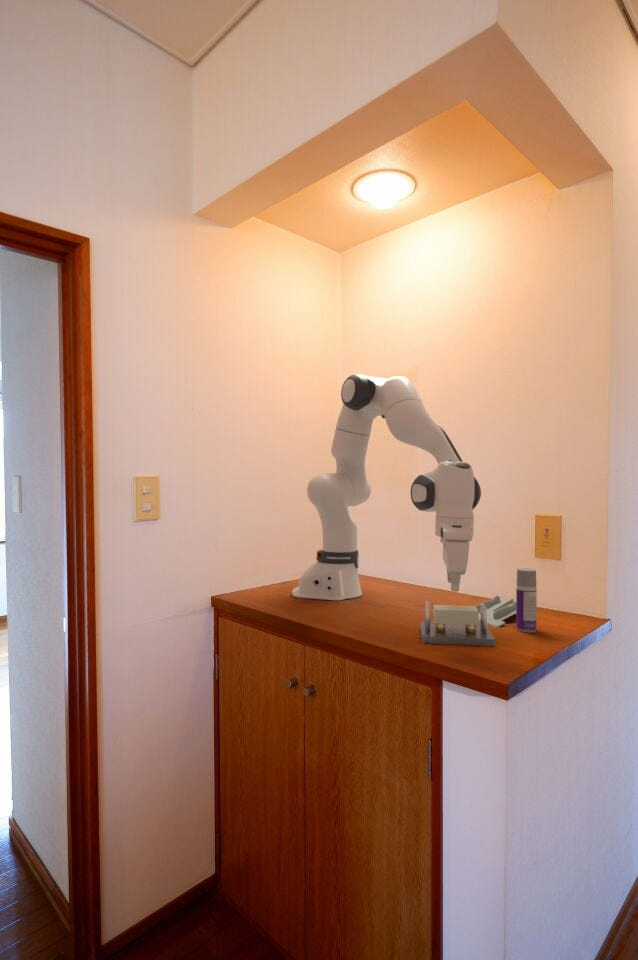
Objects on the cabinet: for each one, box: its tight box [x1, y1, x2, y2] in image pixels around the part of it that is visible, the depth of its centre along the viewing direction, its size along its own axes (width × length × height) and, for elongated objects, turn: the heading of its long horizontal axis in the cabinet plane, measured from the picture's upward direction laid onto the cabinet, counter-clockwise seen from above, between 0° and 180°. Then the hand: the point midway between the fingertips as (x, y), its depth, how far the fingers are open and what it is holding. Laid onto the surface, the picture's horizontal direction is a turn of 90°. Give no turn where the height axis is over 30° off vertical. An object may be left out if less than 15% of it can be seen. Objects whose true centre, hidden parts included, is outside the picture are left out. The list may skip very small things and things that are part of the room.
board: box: [433, 604, 480, 625], centre depth 128 cm, size 10×5×3 cm, turn 81°
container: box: [515, 567, 538, 633], centre depth 134 cm, size 5×5×15 cm
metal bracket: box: [475, 595, 516, 628], centre depth 145 cm, size 14×6×15 cm
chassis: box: [419, 601, 496, 647], centre depth 128 cm, size 16×13×8 cm
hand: (452, 586), depth 129 cm, fingers open, 8 cm apart
